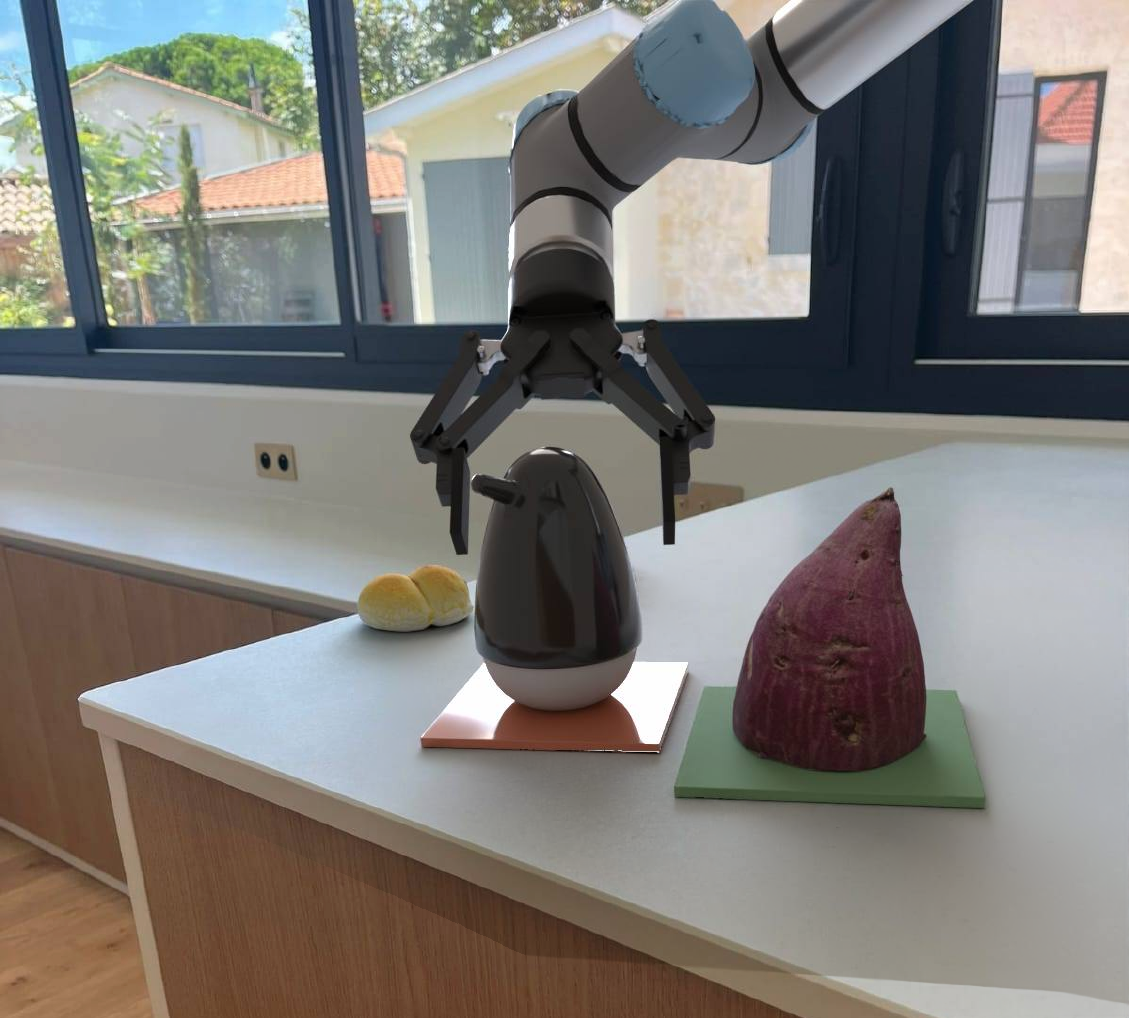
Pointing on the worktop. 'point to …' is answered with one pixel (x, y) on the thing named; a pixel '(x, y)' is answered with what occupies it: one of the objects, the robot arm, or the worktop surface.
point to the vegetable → (837, 655)
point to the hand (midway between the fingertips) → (563, 539)
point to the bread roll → (415, 600)
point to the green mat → (914, 779)
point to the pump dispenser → (554, 585)
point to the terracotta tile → (563, 716)
